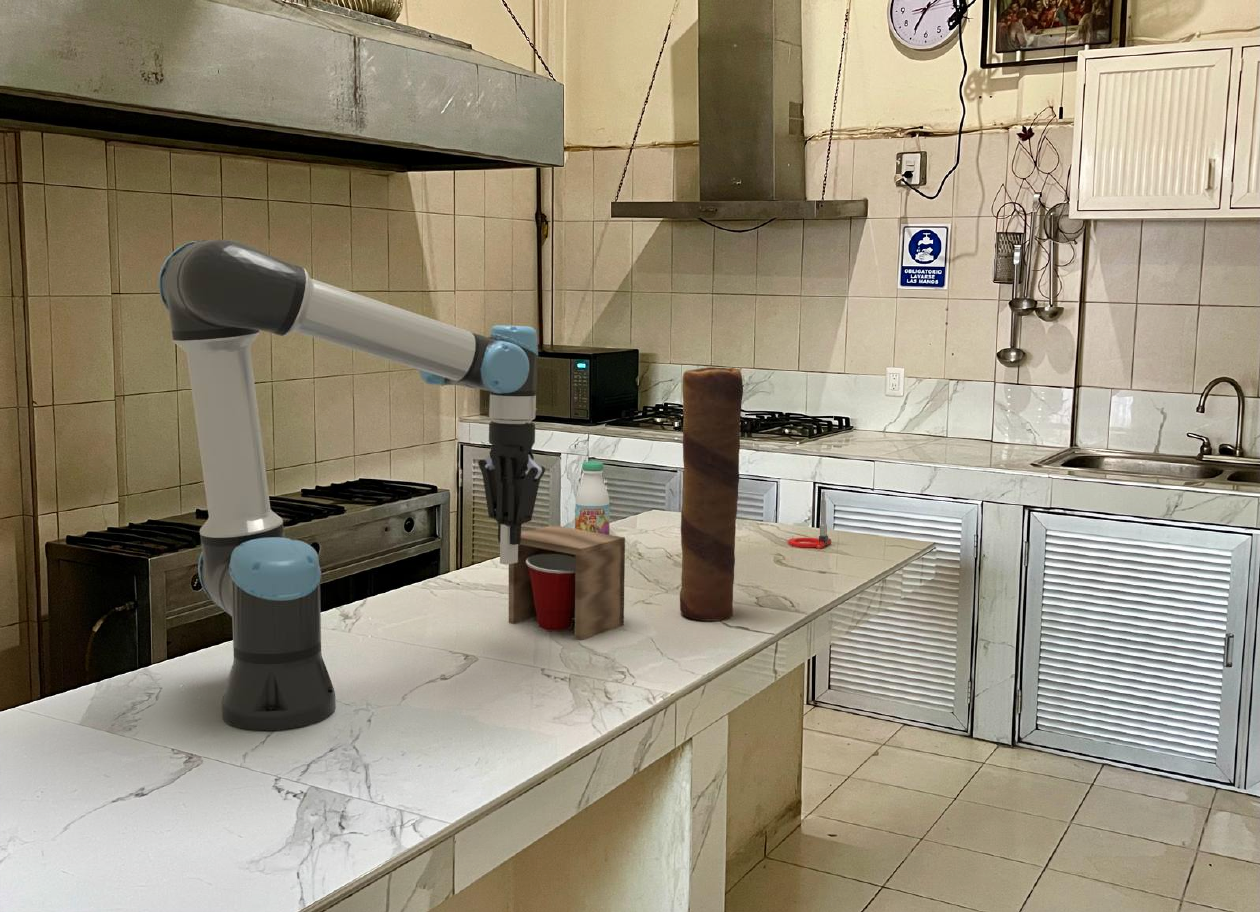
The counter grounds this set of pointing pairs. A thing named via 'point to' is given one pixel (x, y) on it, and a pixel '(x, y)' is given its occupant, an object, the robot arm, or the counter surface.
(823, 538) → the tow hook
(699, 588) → the wafer roll
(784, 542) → the counter surface
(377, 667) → the counter surface
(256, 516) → the robot arm
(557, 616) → the plastic cup
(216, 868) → the counter surface
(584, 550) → the open wooden crate
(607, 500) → the milk bottle
